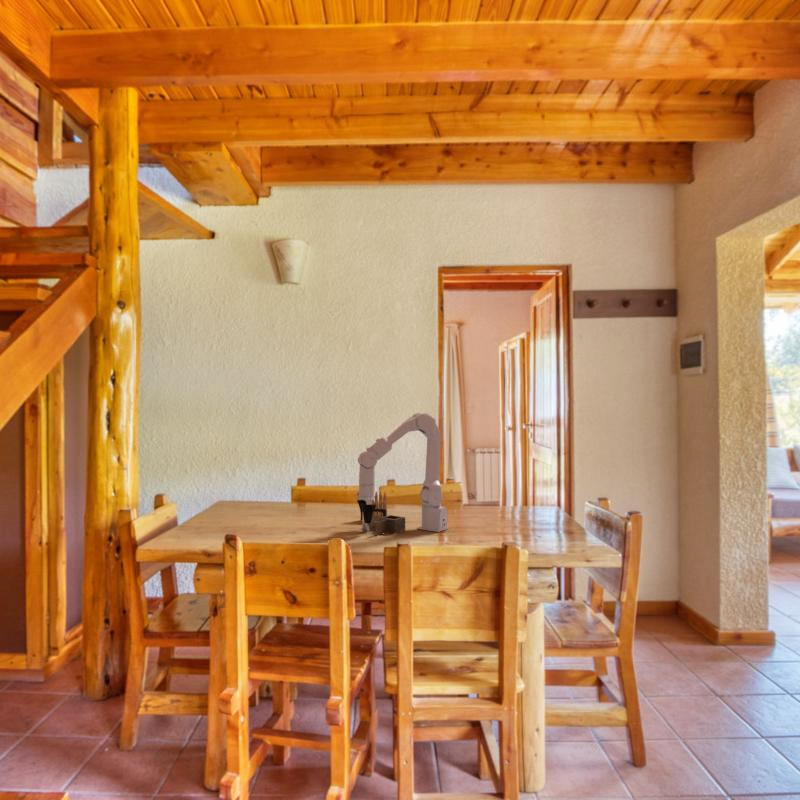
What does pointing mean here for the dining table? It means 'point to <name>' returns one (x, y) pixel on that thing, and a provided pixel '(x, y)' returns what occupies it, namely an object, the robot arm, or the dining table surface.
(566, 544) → the dining table surface
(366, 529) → the pin
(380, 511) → the ammunition clip
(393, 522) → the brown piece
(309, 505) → the dining table surface
